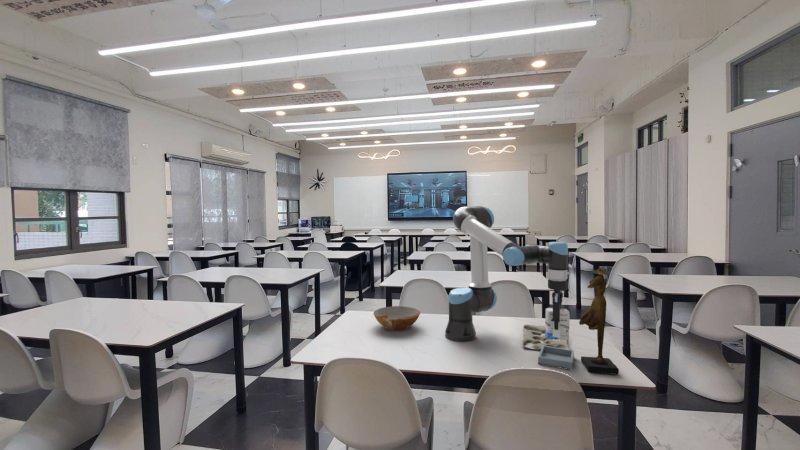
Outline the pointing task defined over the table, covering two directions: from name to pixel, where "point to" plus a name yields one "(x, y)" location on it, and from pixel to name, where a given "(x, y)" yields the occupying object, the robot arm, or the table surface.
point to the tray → (556, 357)
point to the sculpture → (598, 326)
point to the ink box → (563, 324)
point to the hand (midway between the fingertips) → (557, 334)
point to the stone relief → (540, 338)
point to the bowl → (396, 317)
